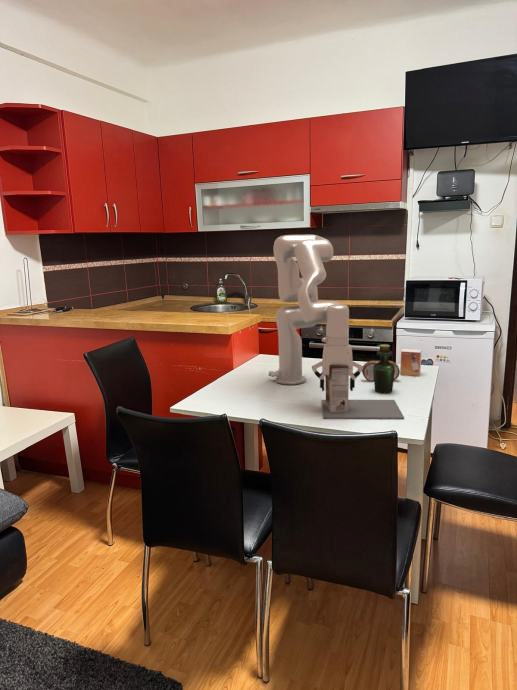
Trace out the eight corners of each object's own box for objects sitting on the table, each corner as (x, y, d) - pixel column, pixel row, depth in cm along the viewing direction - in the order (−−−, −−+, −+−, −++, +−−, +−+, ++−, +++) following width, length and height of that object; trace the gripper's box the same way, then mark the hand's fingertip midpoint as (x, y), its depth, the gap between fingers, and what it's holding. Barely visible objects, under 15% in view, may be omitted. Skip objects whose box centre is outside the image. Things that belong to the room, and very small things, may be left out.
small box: (399, 375, 209) (400, 351, 207) (401, 371, 214) (402, 348, 212) (419, 376, 206) (420, 352, 204) (420, 373, 211) (421, 349, 209)
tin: (398, 379, 203) (399, 360, 201) (400, 382, 200) (400, 362, 198) (361, 379, 204) (361, 360, 203) (362, 382, 201) (362, 362, 200)
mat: (323, 418, 162) (323, 417, 162) (321, 401, 179) (321, 399, 179) (404, 419, 159) (404, 417, 159) (394, 401, 177) (394, 399, 177)
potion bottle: (373, 387, 194) (374, 342, 190) (395, 388, 191) (396, 343, 187) (371, 393, 186) (372, 347, 182) (393, 395, 183) (395, 348, 180)
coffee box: (324, 403, 174) (324, 359, 171) (342, 403, 175) (342, 359, 171) (330, 412, 165) (330, 366, 162) (348, 411, 166) (349, 365, 162)
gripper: (311, 343, 162) (312, 393, 166) (364, 343, 160) (363, 393, 164) (311, 339, 169) (311, 386, 173) (362, 338, 168) (361, 386, 171)
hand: (337, 389), depth 168 cm, fingers open, 9 cm apart
